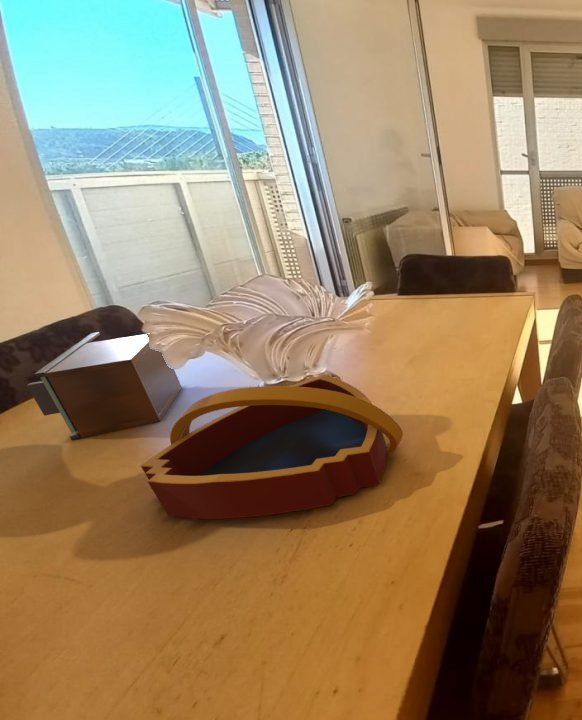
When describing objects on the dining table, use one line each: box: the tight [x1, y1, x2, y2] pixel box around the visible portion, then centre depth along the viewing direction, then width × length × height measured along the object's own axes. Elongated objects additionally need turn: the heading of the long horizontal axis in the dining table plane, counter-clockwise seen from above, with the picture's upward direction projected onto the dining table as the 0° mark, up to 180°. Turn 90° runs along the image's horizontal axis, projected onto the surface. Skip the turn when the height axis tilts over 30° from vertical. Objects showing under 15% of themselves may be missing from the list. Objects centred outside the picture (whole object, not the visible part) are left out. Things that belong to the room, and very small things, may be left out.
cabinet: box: [33, 331, 183, 441], centre depth 95 cm, size 12×25×13 cm, turn 30°
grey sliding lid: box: [26, 375, 77, 434], centre depth 89 cm, size 3×16×11 cm, turn 30°
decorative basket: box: [140, 374, 404, 520], centre depth 73 cm, size 34×29×15 cm
